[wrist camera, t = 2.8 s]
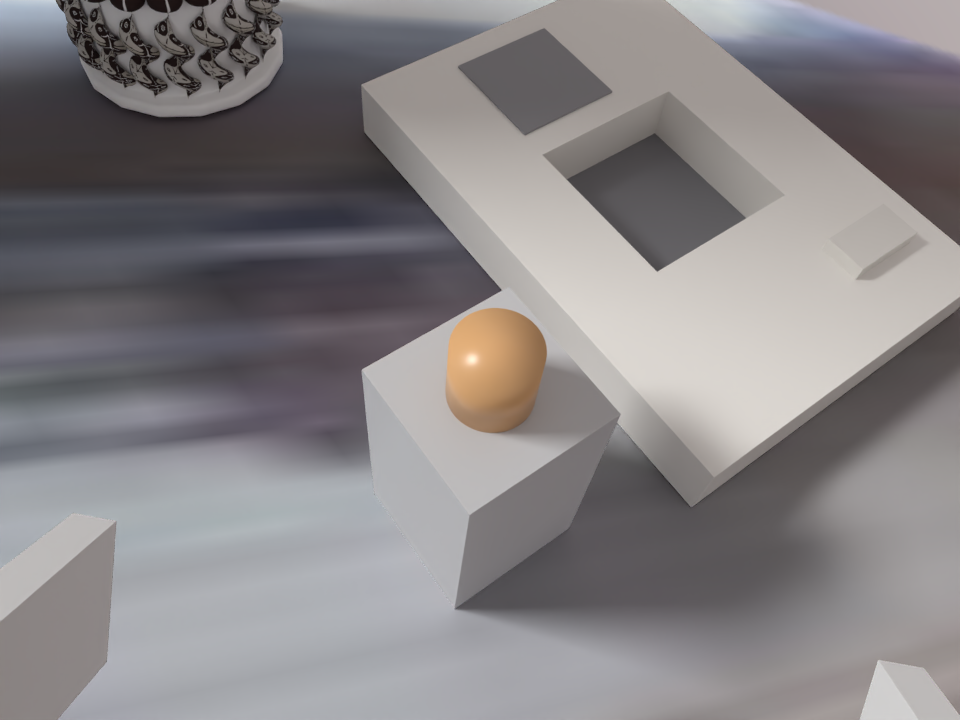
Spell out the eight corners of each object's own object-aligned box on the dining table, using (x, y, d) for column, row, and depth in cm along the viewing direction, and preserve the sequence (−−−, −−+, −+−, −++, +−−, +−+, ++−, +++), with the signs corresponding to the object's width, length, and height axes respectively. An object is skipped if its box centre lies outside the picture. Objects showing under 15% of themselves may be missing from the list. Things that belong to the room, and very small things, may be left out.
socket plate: (363, 131, 36) (360, 72, 33) (617, 17, 41) (631, -43, 38) (691, 507, 28) (720, 469, 26) (954, 312, 33) (1001, 262, 31)
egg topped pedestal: (374, 494, 28) (357, 325, 19) (486, 423, 29) (516, 238, 21) (454, 609, 26) (475, 480, 18) (569, 528, 28) (639, 373, 19)
